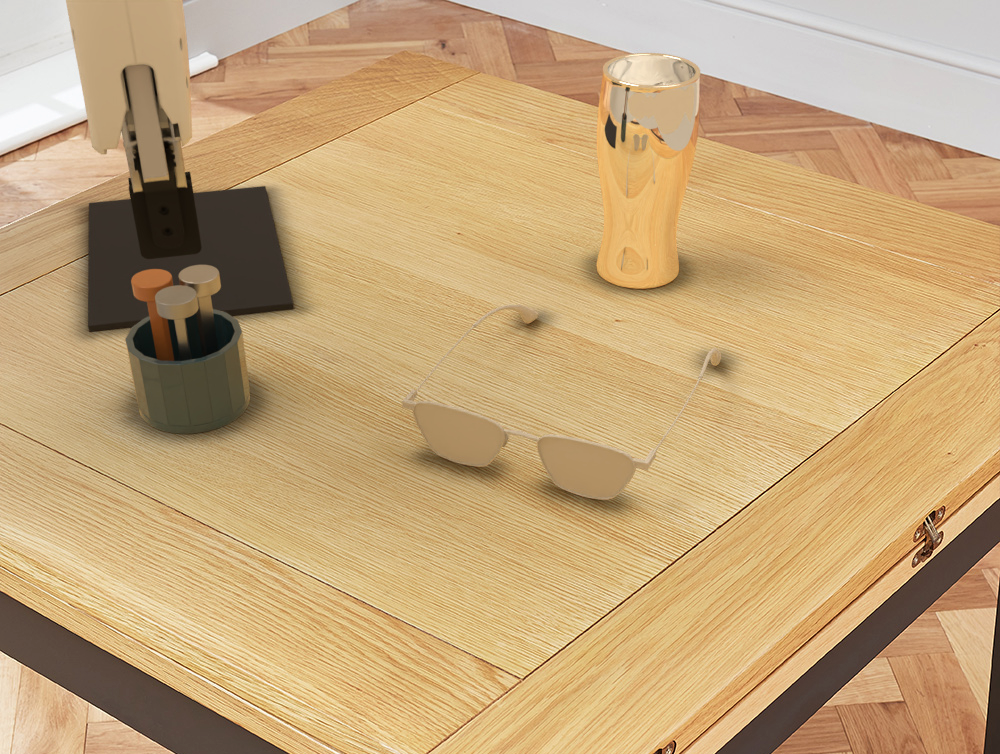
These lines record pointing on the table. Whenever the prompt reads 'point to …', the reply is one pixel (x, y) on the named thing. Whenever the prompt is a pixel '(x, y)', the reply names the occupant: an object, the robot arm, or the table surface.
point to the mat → (189, 257)
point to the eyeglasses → (562, 456)
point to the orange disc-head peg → (145, 290)
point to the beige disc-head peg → (203, 302)
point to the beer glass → (645, 164)
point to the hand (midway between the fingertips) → (171, 249)
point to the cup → (190, 378)
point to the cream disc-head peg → (178, 312)
